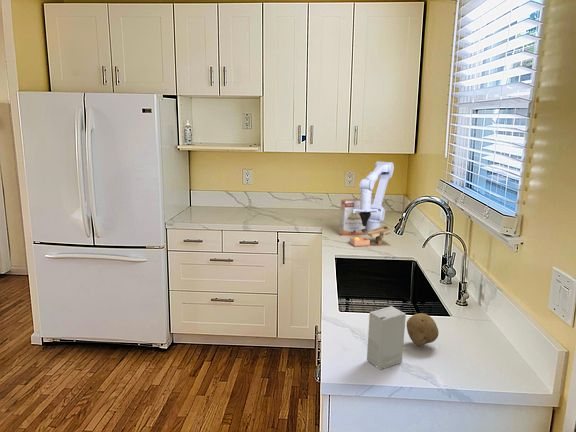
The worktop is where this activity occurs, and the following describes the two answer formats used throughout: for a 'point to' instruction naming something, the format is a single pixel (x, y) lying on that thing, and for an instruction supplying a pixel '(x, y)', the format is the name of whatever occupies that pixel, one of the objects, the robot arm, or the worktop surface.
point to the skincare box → (386, 337)
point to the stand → (376, 242)
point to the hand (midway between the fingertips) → (364, 225)
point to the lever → (377, 231)
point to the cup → (360, 241)
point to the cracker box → (350, 218)
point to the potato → (422, 329)
